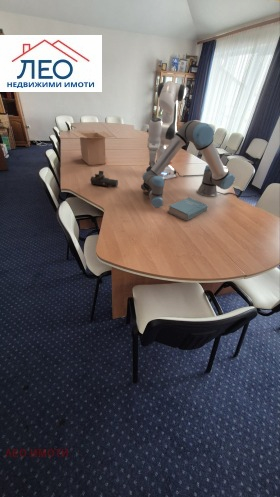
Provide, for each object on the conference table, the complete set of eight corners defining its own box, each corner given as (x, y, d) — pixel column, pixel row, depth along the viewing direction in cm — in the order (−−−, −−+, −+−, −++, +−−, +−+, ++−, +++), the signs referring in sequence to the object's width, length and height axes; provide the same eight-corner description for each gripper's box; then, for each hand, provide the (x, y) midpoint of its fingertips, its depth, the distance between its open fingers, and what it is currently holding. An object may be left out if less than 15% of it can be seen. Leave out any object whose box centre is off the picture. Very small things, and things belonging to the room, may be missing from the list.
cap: (147, 164, 163) (148, 161, 161) (151, 163, 165) (151, 160, 164) (152, 165, 161) (153, 163, 159) (156, 164, 163) (156, 161, 162)
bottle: (147, 190, 180) (149, 160, 166) (155, 192, 178) (159, 162, 164) (142, 193, 175) (145, 162, 161) (151, 195, 172) (154, 164, 158)
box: (116, 165, 229) (116, 136, 213) (83, 168, 214) (80, 137, 198) (102, 154, 259) (101, 128, 243) (71, 156, 244) (68, 129, 228)
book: (187, 203, 164) (188, 197, 161) (206, 211, 155) (207, 205, 152) (167, 212, 150) (168, 205, 147) (187, 221, 142) (188, 214, 139)
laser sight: (115, 189, 177) (115, 177, 171) (88, 185, 180) (87, 173, 174) (118, 185, 185) (118, 173, 179) (93, 181, 188) (92, 169, 182)
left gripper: (150, 141, 163) (148, 160, 172) (148, 147, 147) (146, 168, 155) (158, 142, 163) (156, 161, 171) (157, 148, 147) (155, 169, 155)
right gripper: (139, 199, 159) (136, 187, 177) (167, 199, 161) (161, 187, 180) (140, 189, 154) (136, 177, 172) (168, 189, 157) (162, 178, 175)
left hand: (151, 165), depth 163 cm, fingers open, 7 cm apart
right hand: (149, 182), depth 176 cm, fingers closed on bottle, 8 cm apart
